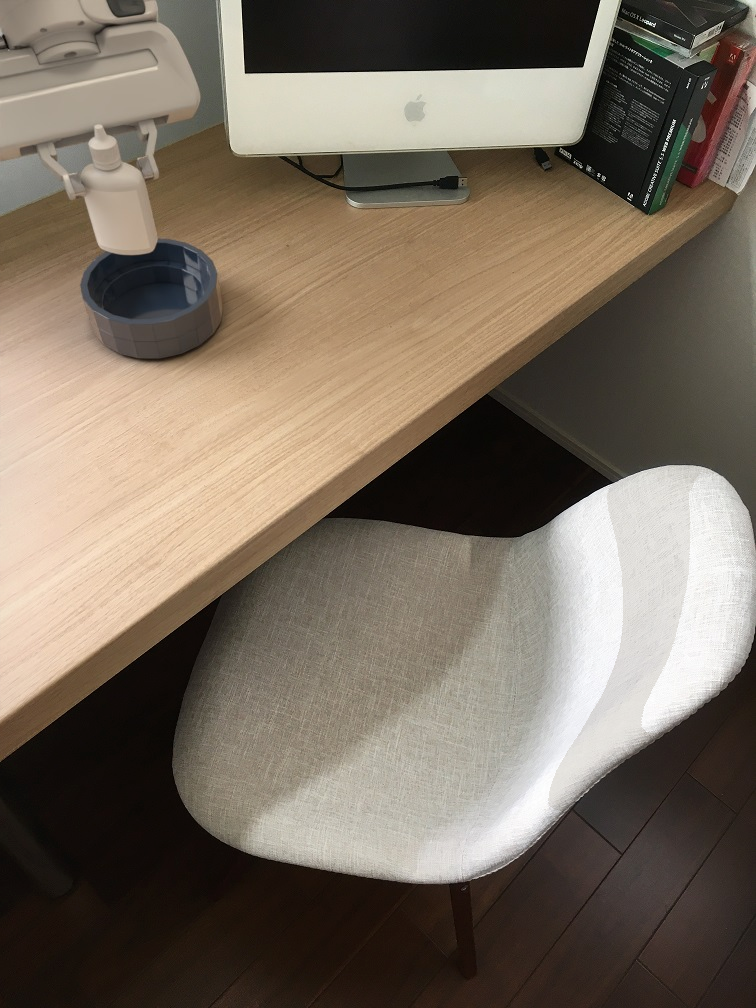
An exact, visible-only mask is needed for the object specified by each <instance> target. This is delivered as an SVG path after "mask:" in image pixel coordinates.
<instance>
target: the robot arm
mask: <svg viewBox="0 0 756 1008" xmlns="http://www.w3.org/2000/svg"><path fill="white" fill-rule="evenodd" d="M0 32H1V35H0V163H1V162H6V161H10V160H15V159H19V158H23V157H28V156H32V155H36V154H37V155H38V158H39V160H40V163H41V164H42V167H44V169H46V170H47V171H48V172H49V173H50V174H51V175H53V176H54V177H55V179H57V180H58V181H60V182H62V184H63V186H64V189H65V192H66V194H67V197H68V199H69V200H70V201H74V200H77V199H81V198H84V197H85V196H86V191H85V188H84V185H83V184H82V183H81V181H82V180H81V177H80V175H81V174H80V173H79V171H78V172H73V173H69V172H68V171H67V170H66V169H65V168H64V167H63V166H62V165H61V163H59V162H58V152H57V150H59V149H63V148H67V147H72V146H76V145H80V144H84V143H89V141H90V139H92V138H93V137H95V132H94V126H95V125H98V124H100V125H102V126H103V128H104V130H105V132H106V134H107V135H110V136H112V137H115V136H120V135H124V134H125V135H126V134H128V133H133V132H136V134H137V136H138V138H139V141H140V142H141V143H145V142H146V145H145V152H144V156H140V157H137V159H136V162H135V166H136V168H137V169H138V170H140V171H141V172H142V174H143V177H144V180H145V183H146V182H149V181H154V180H158V179H159V177H160V172H159V168H158V165H157V163H156V160H155V157H154V155H155V149H156V143H157V138H158V129H157V127H160V126H165V125H169V124H173V123H177V122H182V121H187V120H190V119H192V118H194V116H195V114H196V112H197V110H198V108H199V106H200V103H201V91H200V87H199V85H198V82H197V79H196V77H195V74H194V72H193V69H192V67H191V65H190V63H189V60H188V58H187V56H186V54H185V52H184V49H183V48H182V46H181V44H180V41H179V40H178V38H177V37H176V35H175V34H174V33H173V31H172V30H171V29H170V28H169V27H168V26H166V25H165V24H164V23H161V22H160V21H159V7H158V3H157V0H0Z"/></svg>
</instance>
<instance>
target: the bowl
mask: <svg viewBox="0 0 756 1008" xmlns="http://www.w3.org/2000/svg"><path fill="white" fill-rule="evenodd" d="M79 289H80V292H81V297H82V301H83V303H84V307H85V310H86V313H87V316H88V319H89V321H90V325H91V329H92V331H93V334H94V335H95V337H96V338H97V339H98V340H99V341H100V342H101V344H102V345H103V346H105V347H107V348H108V349H110V350H112V351H114V352H116V353H117V354H119V355H123V356H126V357H131V358H135V359H164V358H165V359H166V358H169V357H174V356H179V355H181V354H184V353H186V352H188V351H191V350H193V349H196V348H198V347H199V346H201V345H202V344H203V343H204V342H206V341H207V340H208V339H209V338H210V337H212V336H213V335H214V334H215V332H216V330H217V328H218V327H219V325H220V324H221V322H222V317H223V301H222V294H221V287H220V281H219V273H218V271H217V268H216V266H215V263H214V261H213V260H212V258H210V256H209V255H208V254H206V252H204V251H203V250H202V249H200V248H198V247H196V246H194V245H192V244H190V243H188V242H184V241H180V240H177V239H171V238H158V240H157V243H156V246H155V249H154V250H153V251H152V252H150V253H146V254H140V255H121V254H115V253H111V252H108V251H105V250H104V252H103V253H101V254H100V255H98V256H96V257H95V258H94V259H93V260H92V261H91V262H90V264H88V266H87V268H86V269H85V270H84V271H83V273H82V276H81V280H80V284H79Z"/></svg>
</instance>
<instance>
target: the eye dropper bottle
mask: <svg viewBox="0 0 756 1008" xmlns="http://www.w3.org/2000/svg"><path fill="white" fill-rule="evenodd" d="M94 132H95V137H93V138H92V139H90V141H89V142H87V144H88V148H89V152H90V156H91V159H92V160H91V161H92V163H89V164H87V165H86V166H85V167H83V169H82V171H81V173H80V174H79V175H80V177H81V180H82V181H81V183H82V184H83V185H84V188H85V191H86V196H85V197H83V198H84V202H85V206H86V209H87V213H88V216H89V220H90V223H91V226H92V229H93V233H94V236H95V240H96V243H97V245H98V247H99V248H100V249H101V250H103V251H104V252H105V251H108V252H111V253H115V254H121V255H140V254H146V253H150V252H152V251H153V250H154V249H155V246H156V243H157V240H158V239H159V237H158V233H157V228H156V223H155V219H154V218H155V217H154V214H153V210H152V205H151V201H150V196H149V192H148V189H147V183H146V182H145V180H144V177H143V174H142V172H141V171H140V170H138V168H137V167H135V166H134V165H132V164H129V163H127V162H124V161H122V157H121V152H120V149H119V144H118V141H117V139H116V138H115V136H110V135H107V134H106V132H105V130H104V128H103V126H102V125H100V124H98V125H95V126H94Z"/></svg>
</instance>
